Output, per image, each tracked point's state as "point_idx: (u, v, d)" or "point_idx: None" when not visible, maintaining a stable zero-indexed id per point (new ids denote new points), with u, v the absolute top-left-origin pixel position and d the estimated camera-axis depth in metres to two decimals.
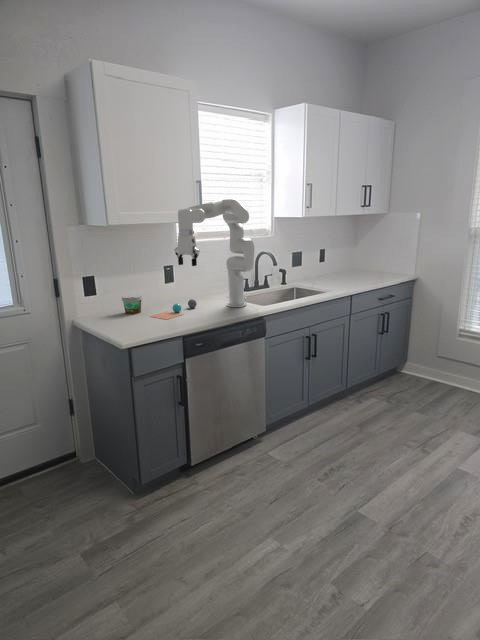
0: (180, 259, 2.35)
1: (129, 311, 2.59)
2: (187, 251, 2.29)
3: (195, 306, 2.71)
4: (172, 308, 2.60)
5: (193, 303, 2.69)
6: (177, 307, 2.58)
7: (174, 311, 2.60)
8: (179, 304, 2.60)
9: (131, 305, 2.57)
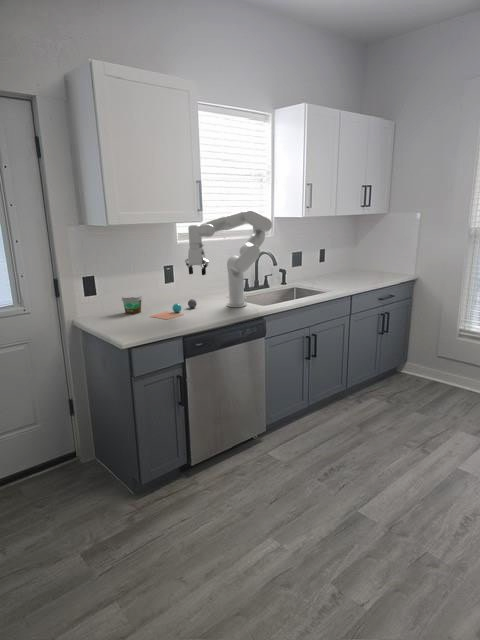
0: (190, 269, 2.63)
1: (129, 311, 2.59)
2: (197, 262, 2.57)
3: (195, 306, 2.71)
4: (172, 308, 2.60)
5: (193, 303, 2.69)
6: (177, 307, 2.58)
7: (174, 311, 2.60)
8: (179, 304, 2.60)
9: (131, 305, 2.57)
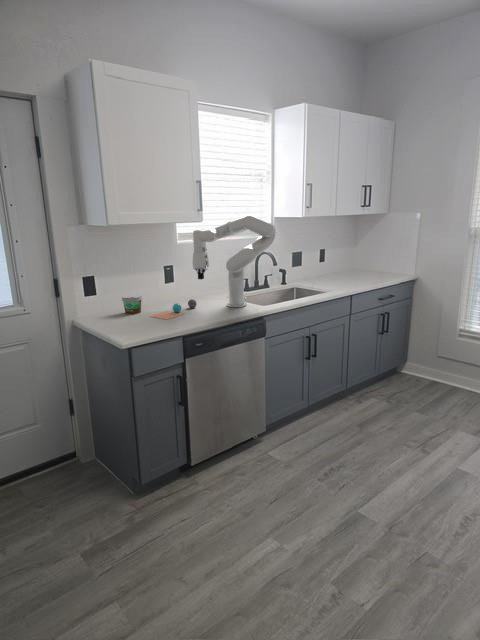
0: None
1: (129, 311, 2.59)
2: (201, 266, 2.70)
3: (195, 306, 2.71)
4: (172, 308, 2.60)
5: (193, 303, 2.69)
6: (177, 307, 2.58)
7: (174, 311, 2.60)
8: (179, 304, 2.60)
9: (131, 305, 2.57)
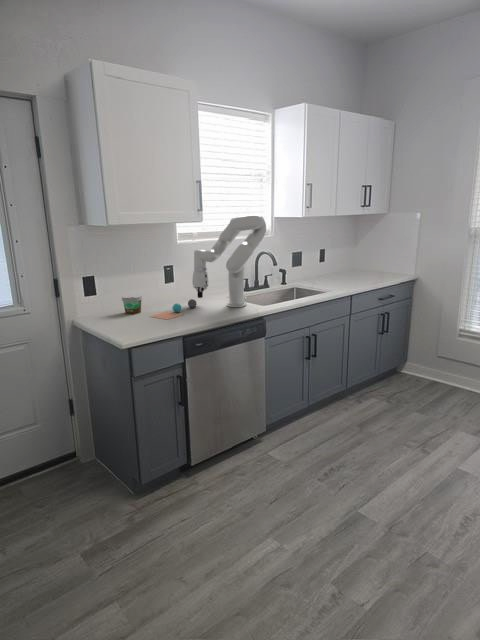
0: None
1: (129, 311, 2.59)
2: (200, 285, 2.73)
3: (195, 306, 2.71)
4: (172, 308, 2.60)
5: (193, 303, 2.69)
6: (177, 307, 2.58)
7: (174, 311, 2.60)
8: (179, 304, 2.60)
9: (131, 305, 2.57)
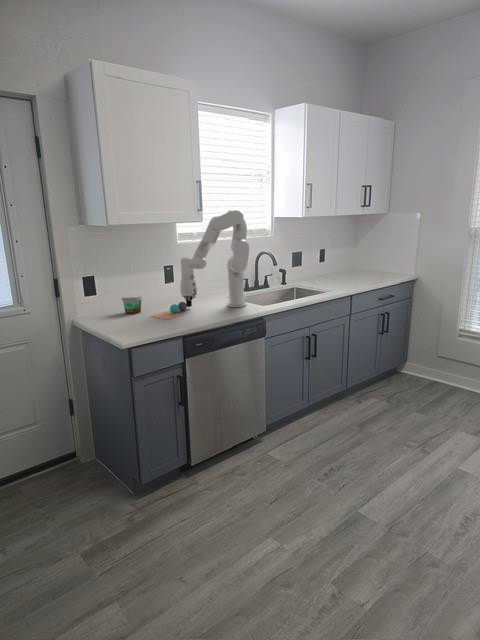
0: None
1: (129, 311, 2.59)
2: (189, 293, 2.64)
3: (184, 303, 2.63)
4: None
5: (186, 307, 2.65)
6: (174, 310, 2.57)
7: None
8: (174, 305, 2.57)
9: (131, 305, 2.57)
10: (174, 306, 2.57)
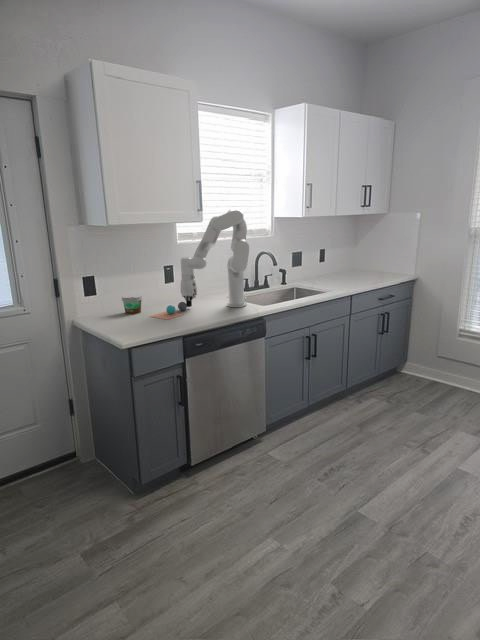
0: None
1: (129, 311, 2.59)
2: (189, 293, 2.64)
3: (184, 303, 2.63)
4: None
5: (186, 307, 2.65)
6: (173, 313, 2.56)
7: None
8: (169, 310, 2.54)
9: (131, 305, 2.57)
10: (170, 311, 2.54)
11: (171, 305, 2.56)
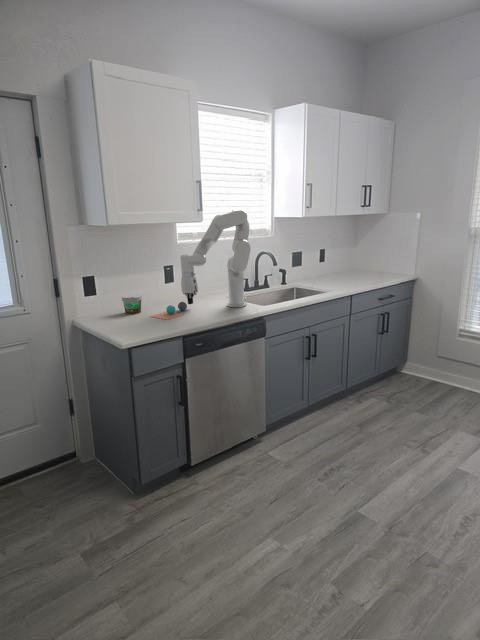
0: None
1: (129, 311, 2.59)
2: (190, 291, 2.64)
3: (184, 303, 2.63)
4: None
5: (186, 307, 2.65)
6: (173, 313, 2.56)
7: None
8: (169, 310, 2.54)
9: (131, 305, 2.57)
10: (170, 311, 2.54)
11: (171, 305, 2.56)
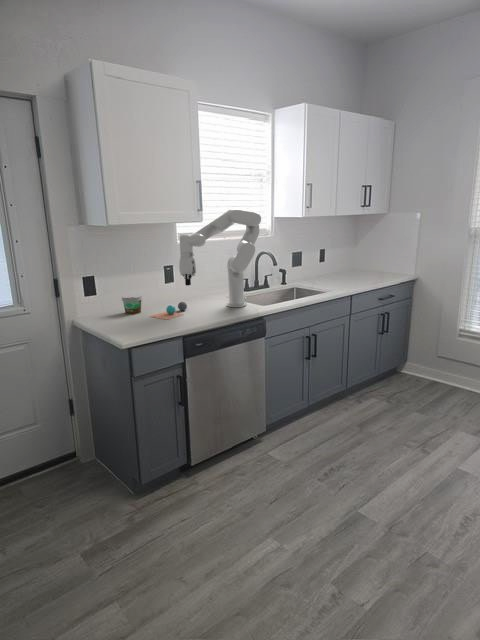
0: None
1: (129, 311, 2.59)
2: (188, 271, 2.61)
3: (184, 303, 2.63)
4: None
5: (186, 307, 2.65)
6: (173, 313, 2.56)
7: None
8: (169, 310, 2.54)
9: (131, 305, 2.57)
10: (170, 311, 2.54)
11: (171, 305, 2.56)
